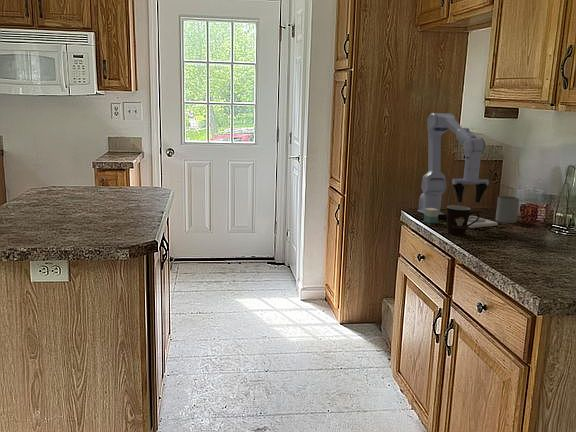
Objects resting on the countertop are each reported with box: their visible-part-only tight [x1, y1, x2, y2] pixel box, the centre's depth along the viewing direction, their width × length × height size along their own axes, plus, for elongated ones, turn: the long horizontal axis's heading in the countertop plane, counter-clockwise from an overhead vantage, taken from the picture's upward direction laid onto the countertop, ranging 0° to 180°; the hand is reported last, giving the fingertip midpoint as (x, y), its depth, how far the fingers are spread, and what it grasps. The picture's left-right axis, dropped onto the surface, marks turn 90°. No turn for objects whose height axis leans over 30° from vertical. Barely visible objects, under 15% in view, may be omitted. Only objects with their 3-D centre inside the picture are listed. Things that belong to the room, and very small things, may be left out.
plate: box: [467, 215, 498, 229], centre depth 234 cm, size 14×14×2 cm
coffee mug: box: [446, 205, 480, 237], centre depth 213 cm, size 12×9×10 cm
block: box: [423, 208, 439, 224], centre depth 233 cm, size 4×4×6 cm
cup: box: [495, 195, 520, 224], centre depth 240 cm, size 8×8×10 cm
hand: (468, 202), depth 226 cm, fingers open, 7 cm apart
